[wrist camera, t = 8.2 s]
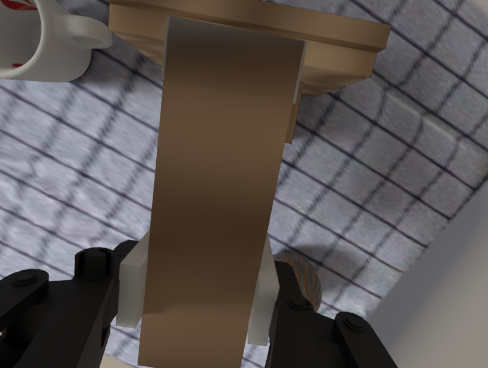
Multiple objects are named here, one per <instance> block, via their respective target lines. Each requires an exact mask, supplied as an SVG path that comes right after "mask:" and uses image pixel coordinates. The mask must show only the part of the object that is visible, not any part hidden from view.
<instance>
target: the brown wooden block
mask: <svg viewBox="0 0 488 368" xmlns="http://www.w3.org/2000/svg"><path fill="white" fill-rule="evenodd" d="M307 43H308V41H303V40H298V39H292V38H287V37H282V36H276V35H271V34H265V33H260V32H255V31H249V30H244V29H238V28H233V27H227V26H222V25H217V24H211V23H206V22H200V21H195V20H190V19H184V18H179V17H173V16H168V15H166V26H165V37H164V48H163V60H162V71H161V80H162V81H164V82H163V93H162V104H161V115H160V126H159V137H158V148H157V158H156V169H155V180H154V191H153V202H152V213H151V224H150V235H149V246H148V263H147V274H146V285H145V296H144V306H143V314H142V323H141V334H140V344H139V355H138V365H139V366H147V367H155V368H240V367H241V362H242V357H243V352H244V346H245V341H246V336H247V331H248V324H249V319H250V313H251V308H252V303H253V298H254V293H255V288H256V283H257V278H258V273H259V271H260V266H261V260H262V255H263V250H264V245H265V240H266V235H267V230H268V225H269V220H270V215H271V210H272V205H273V200H274V195H275V190H276V185H277V180H278V175H279V169H280V164H281V159H282V154H283V149H284V144H285V139H286V134H287V129H288V124H289V119H290V114H291V109H292V104H295V103H296V98H297V93H298V88H299V83H300V78H301V73H302V68H303V63H304V58H305V53H306V48H307Z"/></svg>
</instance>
